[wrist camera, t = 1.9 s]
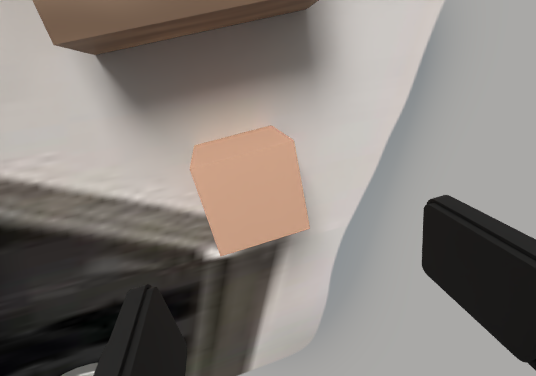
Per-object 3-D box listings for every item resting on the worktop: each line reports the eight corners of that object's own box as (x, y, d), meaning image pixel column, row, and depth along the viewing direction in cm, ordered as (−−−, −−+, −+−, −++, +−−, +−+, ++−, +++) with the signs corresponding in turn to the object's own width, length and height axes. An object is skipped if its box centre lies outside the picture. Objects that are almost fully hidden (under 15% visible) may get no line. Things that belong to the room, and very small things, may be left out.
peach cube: (285, 194, 23) (309, 228, 18) (217, 214, 23) (220, 256, 17) (271, 125, 21) (294, 140, 15) (194, 145, 20) (189, 168, 15)
